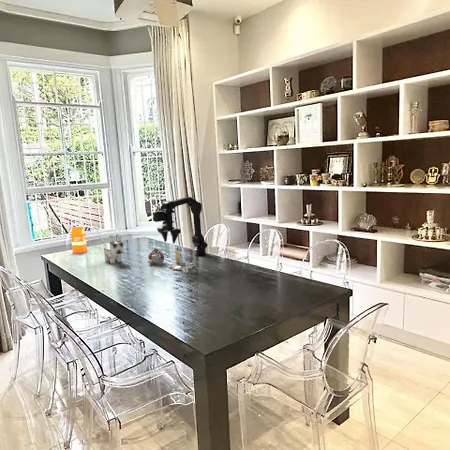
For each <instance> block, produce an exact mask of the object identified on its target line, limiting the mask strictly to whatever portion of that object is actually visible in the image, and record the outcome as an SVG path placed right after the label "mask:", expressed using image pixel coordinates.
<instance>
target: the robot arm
mask: <svg viewBox="0 0 450 450" xmlns="http://www.w3.org/2000/svg"><path fill="white" fill-rule="evenodd" d="M186 204H187V206H188V207H189V208H190V209H189V210H190V211H191V213H192V215H193V216H192V217H193V229H194V230H193V231H194V235H193V236H191V239H192V241H191V242H192V244H193V245H194V247H195V248H196V249H195V251H196V253H195V256H198V257H204V256H207V255H208V253H207V250H206V249H207V248H208V242H206V240H205V237H204V235H203V233H202V224H201V223H202V221H201V213H202V211H203V210H202V209H203V205H202V203H201V202H200V201H198V200H196V199H194V198H193V197H191V196H185V197H183V198H178V199H175V200H166V201H163V202H162V203H161V206H160V208H159V209H158V210H159V211H154V213H153V216H152V220H153V221H154V222H155V223H158V222H162V224H160V225H158V226H157V227H156V230H157V232H158V233H159V234H161V237H162V239H163V241H164V242H165V243H166V242H167V240H168V233H170V236H171V240H172V244H175V243H176V241H177V239H178V236H179V235H180V234H181V233H182V231H181V229H180V228H175V227H174V225H173V224H174V223H175V221H174V220H173V214H174V213H176V212H175V210H174V209H175V208H176V207H179V206H184V205H186Z"/></svg>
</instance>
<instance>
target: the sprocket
mask: <svg viewBox="0 0 450 450" xmlns="http://www.w3.org/2000/svg"><path fill="white" fill-rule="evenodd" d="M180 255H181V254H180V251H176V252H175V260H176V261H175V263H171V264H170V265H169V266H168V269H171V271H175V270H178V271H183V269H185V268H186V269H188V270H193V268H196V267H197V265H196V263H195V262H189V261H185V262H184V261H183V262H181V257H180Z"/></svg>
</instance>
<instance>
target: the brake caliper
mask: <svg viewBox="0 0 450 450" xmlns="http://www.w3.org/2000/svg"><path fill="white" fill-rule="evenodd" d="M164 261H165V255H164V254H163V253H162V252H161V251H160V250H159V249H158V248H157V247H156V248H153V250H152V251H151V253H149V254H148V260H147V263H148V265H147V266H148V267H149V266H160V265H163V263H164Z"/></svg>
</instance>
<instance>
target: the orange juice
mask: <svg viewBox="0 0 450 450" xmlns="http://www.w3.org/2000/svg"><path fill="white" fill-rule="evenodd" d="M70 238H71V239H70V240H71V247H72V253H73V254H74V253H85V252H86V251H87V250H88V248H87V246H88V245H87V237H86V231H85V228H84V226H72V227H71V234H70Z"/></svg>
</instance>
